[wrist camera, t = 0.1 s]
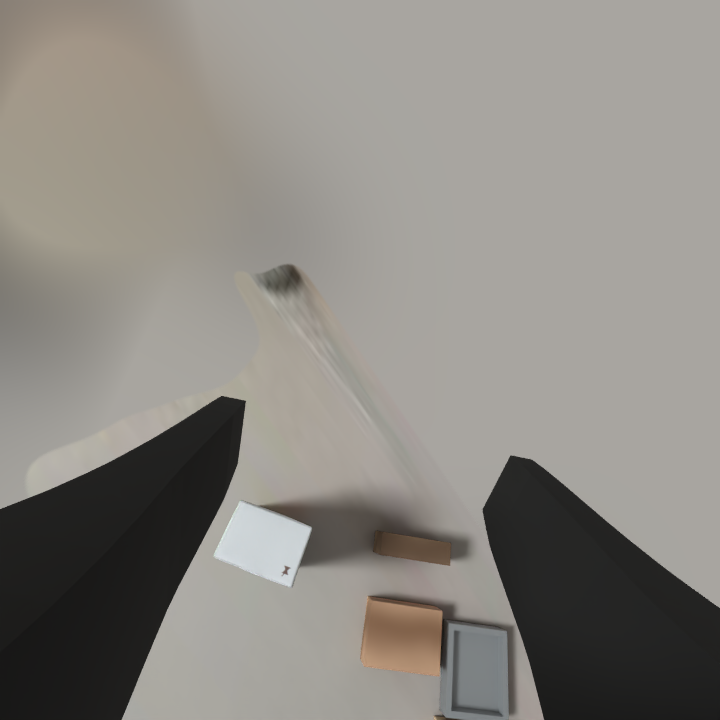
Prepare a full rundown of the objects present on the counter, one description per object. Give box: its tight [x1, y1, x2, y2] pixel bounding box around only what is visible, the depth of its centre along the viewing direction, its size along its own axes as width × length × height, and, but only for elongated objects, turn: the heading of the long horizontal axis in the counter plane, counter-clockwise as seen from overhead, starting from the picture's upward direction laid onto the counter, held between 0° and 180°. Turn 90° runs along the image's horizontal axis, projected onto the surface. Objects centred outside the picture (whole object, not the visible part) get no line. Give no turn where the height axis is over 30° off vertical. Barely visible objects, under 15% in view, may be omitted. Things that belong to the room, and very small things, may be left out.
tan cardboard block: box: [360, 596, 442, 676], centre depth 35 cm, size 5×7×2 cm
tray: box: [440, 619, 509, 720], centre depth 35 cm, size 7×6×2 cm
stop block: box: [373, 531, 451, 566], centre depth 37 cm, size 2×7×4 cm, turn 82°
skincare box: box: [214, 500, 312, 588], centre depth 31 cm, size 6×4×12 cm
